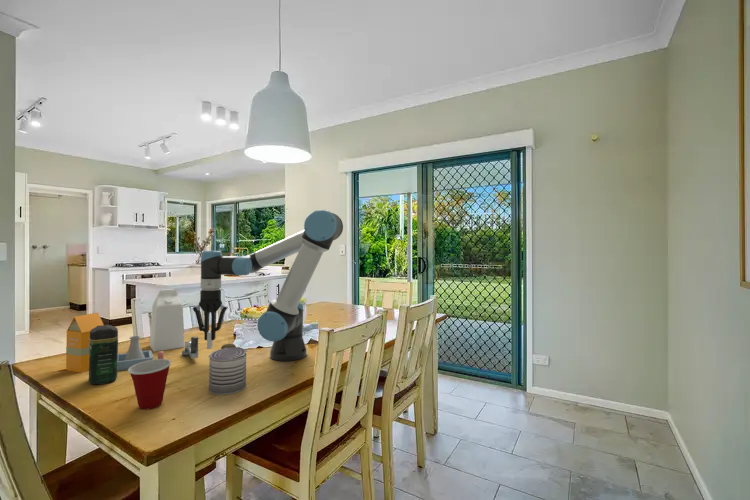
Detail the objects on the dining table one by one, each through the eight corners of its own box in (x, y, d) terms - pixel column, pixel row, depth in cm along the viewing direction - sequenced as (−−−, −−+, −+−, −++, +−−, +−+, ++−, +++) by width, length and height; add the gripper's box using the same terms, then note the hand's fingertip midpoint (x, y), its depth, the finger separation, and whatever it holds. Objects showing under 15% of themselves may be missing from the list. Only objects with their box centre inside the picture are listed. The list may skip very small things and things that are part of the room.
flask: (149, 360, 147) (150, 334, 147) (136, 365, 140) (136, 339, 140) (132, 359, 148) (133, 334, 148) (118, 364, 140) (118, 338, 140)
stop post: (163, 362, 146) (163, 352, 146) (157, 363, 145) (158, 352, 145) (163, 361, 148) (163, 351, 148) (157, 361, 147) (157, 351, 147)
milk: (178, 341, 177) (179, 287, 177) (184, 347, 169) (185, 290, 168) (149, 345, 170) (150, 289, 170) (153, 351, 161) (154, 291, 161)
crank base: (198, 355, 157) (198, 351, 157) (182, 357, 153) (182, 353, 153) (196, 351, 162) (196, 348, 162) (181, 353, 158) (181, 350, 158)
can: (253, 386, 123) (254, 350, 123) (222, 398, 113) (223, 359, 113) (231, 379, 129) (232, 345, 129) (201, 389, 120) (201, 352, 120)
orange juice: (65, 370, 136) (66, 315, 135) (90, 363, 144) (91, 311, 144) (81, 372, 133) (81, 317, 133) (105, 365, 142) (106, 313, 141)
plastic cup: (120, 407, 106) (120, 365, 106) (159, 395, 115) (160, 356, 115) (138, 417, 100) (138, 373, 100) (178, 403, 109) (178, 363, 109)
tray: (152, 365, 142) (153, 357, 142) (114, 371, 135) (114, 362, 135) (151, 357, 152) (151, 350, 152) (115, 362, 145) (115, 354, 145)
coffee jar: (118, 382, 125) (119, 327, 125) (88, 387, 120) (89, 330, 120) (116, 374, 132) (117, 322, 132) (88, 378, 128) (89, 324, 127)
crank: (184, 349, 158) (184, 331, 158) (194, 348, 160) (194, 330, 160) (189, 359, 145) (189, 338, 145) (200, 357, 147) (200, 337, 147)
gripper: (190, 290, 143) (189, 351, 143) (225, 290, 145) (224, 350, 145) (196, 288, 150) (195, 345, 151) (230, 288, 152) (229, 345, 153)
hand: (209, 348), depth 148 cm, fingers closed
